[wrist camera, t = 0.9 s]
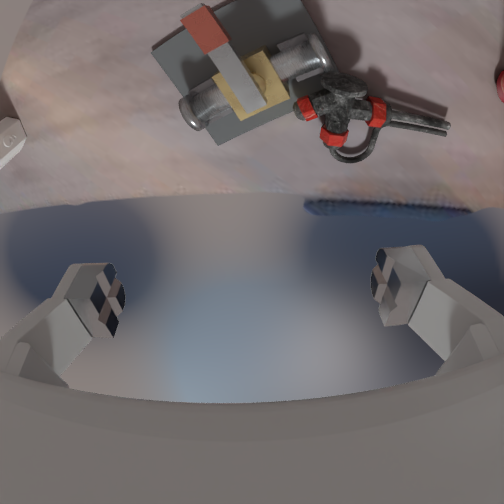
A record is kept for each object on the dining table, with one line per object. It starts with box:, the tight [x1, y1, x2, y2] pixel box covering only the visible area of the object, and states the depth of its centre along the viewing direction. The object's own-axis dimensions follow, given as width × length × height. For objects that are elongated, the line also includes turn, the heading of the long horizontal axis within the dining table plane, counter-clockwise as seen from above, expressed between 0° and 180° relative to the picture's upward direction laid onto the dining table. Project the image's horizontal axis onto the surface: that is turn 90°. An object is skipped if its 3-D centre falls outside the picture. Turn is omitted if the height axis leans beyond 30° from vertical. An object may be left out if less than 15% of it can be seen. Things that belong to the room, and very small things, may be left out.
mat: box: [151, 0, 339, 146], centre depth 36 cm, size 22×19×1 cm
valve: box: [293, 72, 451, 163], centre depth 39 cm, size 6×26×15 cm
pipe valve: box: [179, 32, 333, 131], centre depth 34 cm, size 20×7×8 cm, turn 119°
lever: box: [180, 3, 268, 114], centre depth 27 cm, size 14×3×3 cm, turn 29°
